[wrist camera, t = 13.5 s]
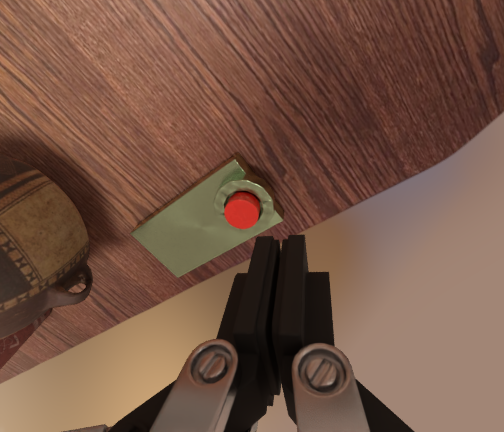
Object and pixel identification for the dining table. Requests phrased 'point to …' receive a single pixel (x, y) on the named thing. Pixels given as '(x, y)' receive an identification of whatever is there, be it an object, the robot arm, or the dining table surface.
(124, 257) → the dining table surface
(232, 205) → the power button
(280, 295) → the robot arm
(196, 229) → the switch box
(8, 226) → the vase
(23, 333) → the can
